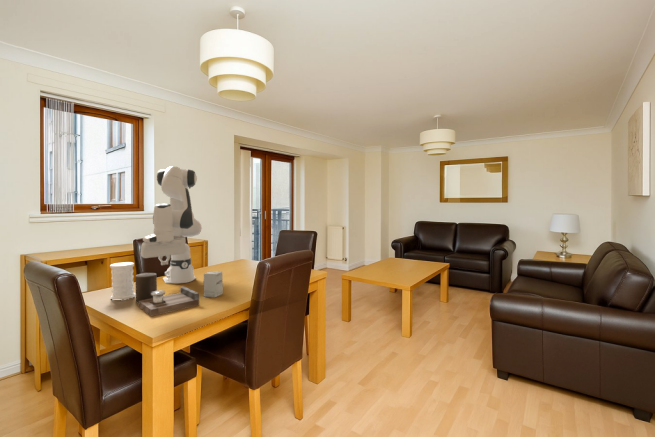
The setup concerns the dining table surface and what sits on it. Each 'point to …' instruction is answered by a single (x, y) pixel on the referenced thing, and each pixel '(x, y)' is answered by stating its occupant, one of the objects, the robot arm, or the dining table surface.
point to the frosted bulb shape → (158, 296)
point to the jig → (171, 302)
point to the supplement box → (213, 284)
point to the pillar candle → (145, 286)
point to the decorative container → (122, 280)
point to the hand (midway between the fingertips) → (164, 264)
